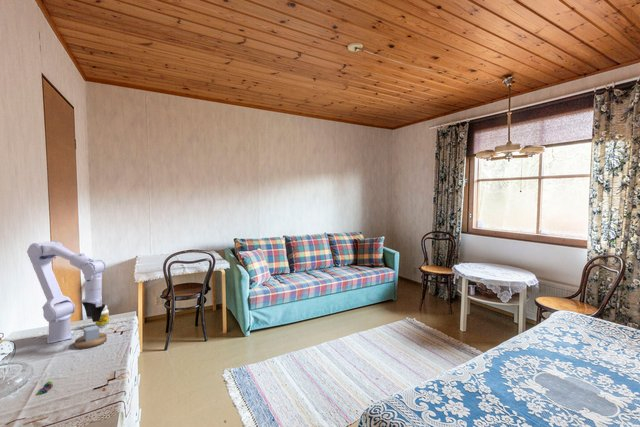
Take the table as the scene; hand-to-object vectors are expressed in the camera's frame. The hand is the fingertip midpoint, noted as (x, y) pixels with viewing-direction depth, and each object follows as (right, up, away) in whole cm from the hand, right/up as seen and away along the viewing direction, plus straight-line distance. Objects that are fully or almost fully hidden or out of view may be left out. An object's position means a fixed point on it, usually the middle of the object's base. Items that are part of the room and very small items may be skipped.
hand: (93, 318), depth 128 cm
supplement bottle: (-9, -10, +17) cm, 21 cm away
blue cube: (-1, -8, 0) cm, 8 cm away
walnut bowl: (-1, -10, 0) cm, 10 cm away
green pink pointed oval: (+9, -13, -32) cm, 36 cm away
